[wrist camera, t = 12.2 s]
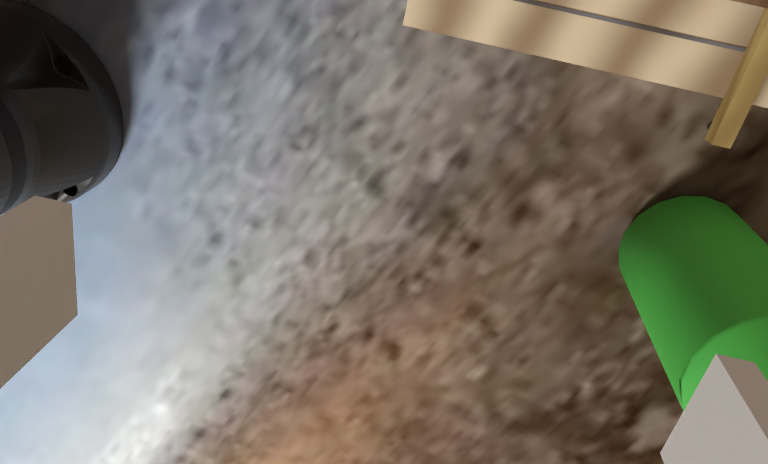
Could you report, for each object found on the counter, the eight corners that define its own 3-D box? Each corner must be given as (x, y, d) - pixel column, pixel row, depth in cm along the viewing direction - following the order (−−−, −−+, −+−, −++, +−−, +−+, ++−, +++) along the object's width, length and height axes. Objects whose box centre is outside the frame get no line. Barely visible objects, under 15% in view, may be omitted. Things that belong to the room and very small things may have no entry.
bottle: (714, 307, 46) (945, 655, 23) (600, 285, 46) (720, 606, 24) (763, 202, 42) (1098, 501, 19) (638, 180, 42) (824, 446, 20)
